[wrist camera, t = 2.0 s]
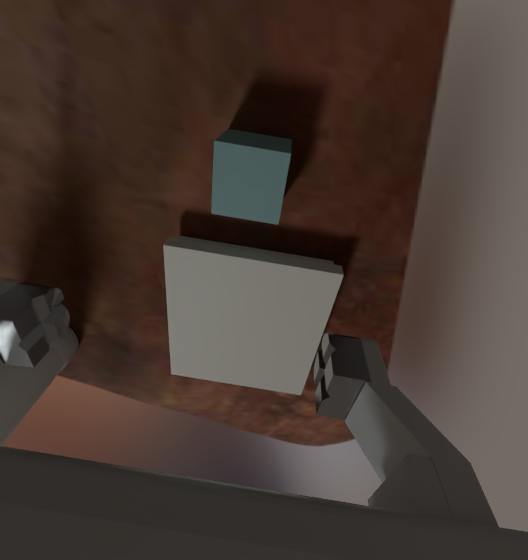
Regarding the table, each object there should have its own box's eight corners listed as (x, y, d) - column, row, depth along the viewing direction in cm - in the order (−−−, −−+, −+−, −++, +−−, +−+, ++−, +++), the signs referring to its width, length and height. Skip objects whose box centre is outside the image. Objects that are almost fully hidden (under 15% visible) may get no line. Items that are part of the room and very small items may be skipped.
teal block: (228, 128, 23) (214, 140, 19) (292, 139, 23) (291, 153, 19) (224, 191, 26) (211, 213, 22) (281, 200, 26) (278, 224, 22)
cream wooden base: (174, 230, 29) (163, 244, 26) (339, 257, 29) (343, 274, 26) (179, 355, 39) (171, 374, 36) (300, 374, 39) (300, 395, 37)
